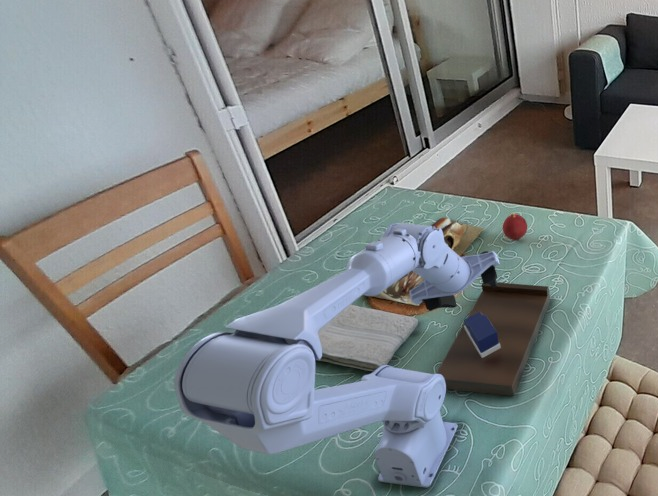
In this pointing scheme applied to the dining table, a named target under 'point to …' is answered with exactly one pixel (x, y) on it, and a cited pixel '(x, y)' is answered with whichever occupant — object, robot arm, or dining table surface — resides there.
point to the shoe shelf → (513, 334)
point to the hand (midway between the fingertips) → (474, 291)
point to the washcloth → (364, 337)
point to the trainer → (482, 334)
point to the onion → (514, 227)
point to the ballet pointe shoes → (455, 239)
